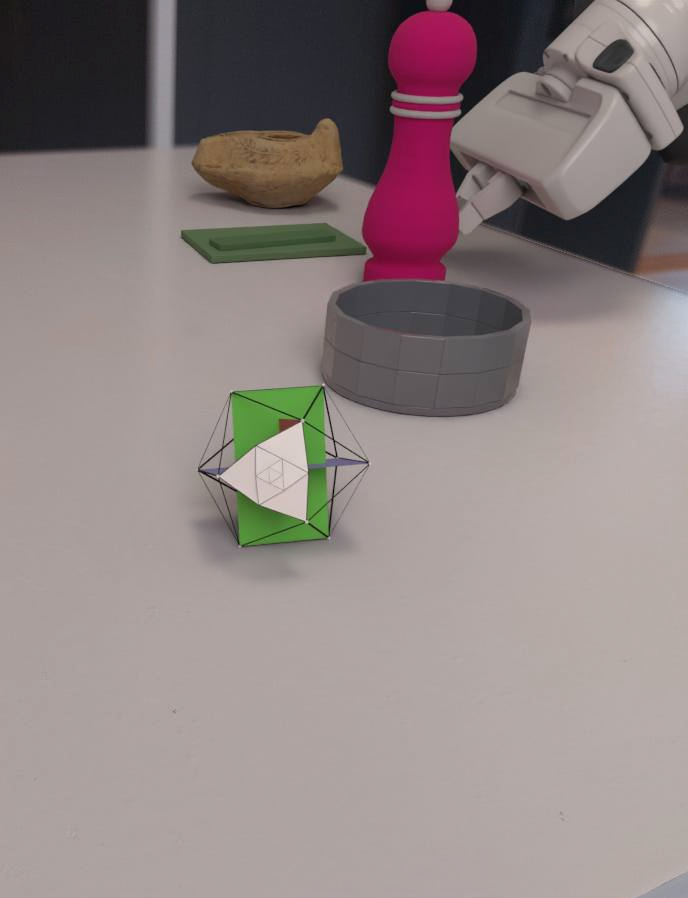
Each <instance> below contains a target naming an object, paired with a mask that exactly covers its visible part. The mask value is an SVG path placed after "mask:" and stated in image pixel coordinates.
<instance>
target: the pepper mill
mask: <svg viewBox="0 0 688 898" xmlns="http://www.w3.org/2000/svg"><path fill="white" fill-rule="evenodd" d="M425 4H426V7H427V9H428V10H425V11H421V12H417V13H415V14H413V15H411V16H409V17H408V18H407V19H405V20H404V21H403V22H402V23H400V24H399V26H398V27H397V28H396V30H395V32H394V34H393V35H392V38H391V41H390V44H389V50H388V56H387V57H388V58H387V64H388V69H389V71H390V74H391V75H392V78H393V79H394V81H395V83H396V87H397V89H395V90H393V91H392V92H391V93H390V97H391V98H392V101H391V105H390V107H389V112H390V113H391V114H393V115H394V120H393V121H394V123H393V136H392V141H391V147H390V152H389V155H388V158H387V162H386V164H385V167H384V170H383V172H382V173H381V176H380V178H379V180H378V182H377V184H376V185H375V188H374V190H373V192H372V194H371V196H370V198H369V200H368V202H367V206H366V208H365V211H364V213H363V220H362V225H361V236H362V240H363V242H364V243H365V246H366V247H367V249H368V250H369V251H370V252H371V254H372V257H370V258H368V259H366V261H365V262H364V266H363V276H362V282H366V281H372V280H378V279H409V278H415V279H416V278H417V279H429V280H440V281H446V275H447V267H446V265H445V264H444V263H443V262H442V259H443V258H444V257H445V256H446V255H447V254H448V253H449V252H450V251H451V250H452V249H453V247H454V246H455V245H456V243H457V242H458V238H459V233H460V232H459V209H458V202H457V198H456V189H455V185H454V181H453V177H452V176H453V175H452V170H451V159H450V158H451V157H450V152H451V149H450V139H451V133H452V128H453V127H454V123H455V119H456V118H458V117H460V116H461V114H462V110H461V109H460V108H461V106H462V105H461V102H462V101H463V100H464V95H463V94H462V93H461V92H459V91H460V89H461V87H462V85H463V84H464V83H465V82H466V80H467V79H468V78H469V77H470V75H471V74H472V73H473V72H474V69H475V66H476V62H477V55H478V42H477V37H476V34H475V32H474V29H473V27H472V25H471V24H470V23H469V22H468V21H467V20H466V19H465V18H463V17H462V16H460V15H459V14H458V13H454V12H451V11H448V10H449V9H450V8H451V7H452V4H453V0H425Z"/></svg>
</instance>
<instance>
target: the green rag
mask: <svg viewBox="0 0 688 898" xmlns="http://www.w3.org/2000/svg"><path fill="white" fill-rule="evenodd" d="M180 237H181V239H183V240H184V241H185V242H187V243H188V245H190V246H191V247H192V248H193V249H194V250H196V251H197V252H198V253H199V254H200V255H202V256H203V257H204V258H205V259H206V260H207V261H208V262H210V263H211V264H220V263H234V262H235V263H236V262H253V261H254V262H255V261H269V260H286V259H302V258H303V259H304V258H318V257H319V258H321V257H335V256H336V257H337V256H352V255H353V256H355V255H366V254H367V251H368V246H367V245H364V244H362V243H361V242H360V241H358V240H356V239H354V238H352V237H351V236H349V235H348V234H346V233H344V232H343V231H341V230H339V229H337V228H336V227H334V226H333V225H331V224H329V223H327V222H316V223H315V222H313V223H296V224H292V223H291V224H273V225H254V226H237V227H236V226H235V227H217V228H216V227H215V228H196V229H195V228H194V229H181V230H180Z"/></svg>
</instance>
